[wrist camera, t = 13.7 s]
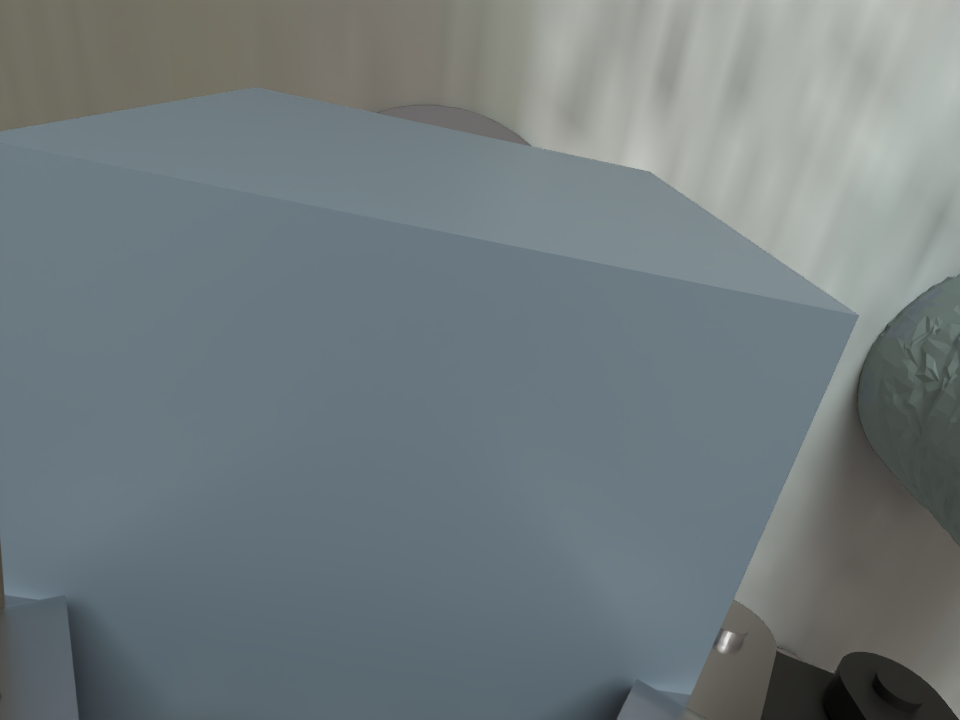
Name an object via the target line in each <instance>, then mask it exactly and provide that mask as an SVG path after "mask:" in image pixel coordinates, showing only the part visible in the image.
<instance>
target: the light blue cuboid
mask: <svg viewBox="0 0 960 720" xmlns="http://www.w3.org/2000/svg"><path fill="white" fill-rule="evenodd" d="M858 316H859V315H858V314H856V313H855V312H853V311H852V310H850V309H849V308H847V307H846V306H845V305H843V304H842V303H840V302H839V301H837V300H836V299H834V298H833V297H831V296H830V295H829V294H827V293H826V292H824V291H823V290H821V289H820V288H818V287H817V286H815V285H814V284H813V283H811V282H810V281H808V280H807V279H805V278H804V277H802V276H801V275H799V274H798V273H797V272H795V271H794V270H792V269H791V268H789V267H788V266H786V265H785V264H783V263H782V262H781V261H779V260H778V259H776V258H775V257H773V256H772V255H770V254H769V253H767V252H766V251H764V250H763V249H762V248H760V247H759V246H757V245H756V244H754V243H753V242H751V241H750V240H748V239H747V238H746V237H744V236H743V235H741V234H740V233H738V232H737V231H735V230H734V229H732V228H731V227H730V226H728V225H727V224H725V223H724V222H722V221H721V220H719V219H718V218H716V217H715V216H714V215H712V214H711V213H709V212H708V211H706V210H705V209H703V208H702V207H700V206H699V205H698V204H696V203H695V202H693V201H692V200H690V199H689V198H687V197H686V196H684V195H683V194H682V193H680V192H679V191H677V190H676V189H674V188H673V187H671V186H670V185H668V184H667V183H665V182H664V181H663V180H661V179H660V178H658V177H657V176H655V175H654V174H652V173H651V172H649V171H644V170H639V169H635V168H630V167H625V166H621V165H616V164H611V163H607V162H602V161H597V160H593V159H588V158H583V157H579V156H574V155H569V154H565V153H560V152H555V151H551V150H546V149H541V148H537V147H532V146H527V145H523V144H518V143H513V142H509V141H504V140H499V139H495V138H490V137H485V136H481V135H476V134H471V133H467V132H462V131H457V130H453V129H448V128H443V127H439V126H434V125H430V124H425V123H420V122H416V121H411V120H406V119H402V118H397V117H392V116H388V115H383V114H378V113H374V112H369V111H364V110H360V109H355V108H350V107H346V106H341V105H336V104H332V103H327V102H322V101H318V100H313V99H308V98H304V97H299V96H294V95H290V94H285V93H280V92H276V91H271V90H266V89H262V88H257V87H253V88H248V89H242V90H236V91H230V92H225V93H219V94H213V95H208V96H202V97H196V98H190V99H185V100H179V101H173V102H167V103H162V104H156V105H150V106H144V107H139V108H133V109H127V110H122V111H116V112H110V113H104V114H99V115H93V116H87V117H81V118H76V119H70V120H64V121H58V122H53V123H47V124H41V125H36V126H30V127H24V128H18V129H13V130H7V131H1V132H0V541H1V555H2V568H3V582H4V595H9V596H16V597H23V598H30V599H37V600H40V599H46V598H51V597H56V596H61V595H65V597H66V603H67V612H68V622H69V631H70V640H71V650H72V659H73V669H74V678H75V687H76V697H77V706H78V715H79V720H617V718H618V716H619V714H620V711H621V709H622V707H623V705H624V703H625V701H626V699H627V697H628V695H629V693H630V691H631V689H632V687H633V685H634V683H635V681H636V679H639V680H640V681H642V682H644V683H646V684H647V685H649V686H651V687H653V688H654V689H656V690H660V691H667V692H674V693H681V694H688V695H691V693H692V691H693V689H694V687H695V684H696V682H697V680H698V678H699V675H700V673H701V671H702V669H703V666H704V664H705V662H706V659H707V657H708V655H709V653H710V650H711V648H712V646H713V644H714V641H715V639H716V637H717V635H718V632H719V630H720V628H721V626H722V623H723V621H724V619H725V617H726V614H727V612H728V610H729V608H730V605H731V603H732V601H733V599H734V596H735V594H736V592H737V590H738V587H739V585H740V583H741V580H742V578H743V576H744V574H745V571H746V569H747V567H748V565H749V562H750V560H751V558H752V556H753V553H754V551H755V549H756V547H757V544H758V542H759V540H760V538H761V535H762V533H763V531H764V529H765V526H766V524H767V522H768V520H769V517H770V515H771V513H772V511H773V508H774V506H775V504H776V501H777V499H778V497H779V495H780V492H781V490H782V488H783V486H784V483H785V481H786V479H787V477H788V474H789V472H790V470H791V468H792V465H793V463H794V461H795V459H796V456H797V454H798V452H799V450H800V447H801V445H802V443H803V441H804V438H805V436H806V434H807V432H808V429H809V427H810V425H811V423H812V420H813V418H814V416H815V413H816V411H817V409H818V407H819V404H820V402H821V400H822V398H823V395H824V393H825V391H826V389H827V386H828V384H829V382H830V380H831V377H832V375H833V373H834V371H835V368H836V366H837V364H838V362H839V359H840V357H841V355H842V353H843V350H844V348H845V346H846V344H847V341H848V339H849V337H850V334H851V332H852V330H853V328H854V325H855V323H856V321H857V319H858Z"/></svg>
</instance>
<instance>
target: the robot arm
mask: <svg viewBox="0 0 960 720" xmlns="http://www.w3.org/2000/svg"><path fill="white" fill-rule="evenodd" d="M0 720H79V715H78V706H77V697H76V687H75V678H74V669H73V659H72V650H71V640H70V631H69V622H68V612H67V603H66V597H65V595H61V596H56V597H51V598H46V599H40V600H37V599H30V598H23V597H16V596H9V595H4V582H3V568H2V555H1V541H0ZM617 720H959V719H958V718H957V717H956V715H955V714H954V713H953V711H952V710H951V709H950V708H949V706H948V705H947V704H946V702H945V701H944V700H943V699H942V697H941V696H940V695H939V694H938V693H937V692H936V691H935V690H934V689H933V688H932V687H931V686H930V685H929V684H928V683H927V682H926V681H924V680H923V679H922V678H921V677H920V676H918V675H917V674H915V673H914V672H912V671H911V670H909V669H908V668H906V667H904V666H903V665H901V664H899V663H897V662H895V661H893V660H891V659H888V658H886V657H883V656H880V655H877V654H873V653H867V652H854V653H850V654H847V655H846V656H844V657H843V658H842V660H841V662H840V664H839V665H838V667H837V669H836V671H835V673H834V674H832V673H830V672H827V671H825V670H822V669H820V668H817V667H815V666H812V665H810V664H807V663H804V662H802V661H799V660H797V659H794V658H792V657H789V656H787V655H785V654H783V653H780V652H779V651H777V650H776V643H775V640H774V637H773V635H772V633H771V631H770V630H769V628H768V627H767V626H766V624H765V623H764V622H763V621H762V620H761V619H760V618H759V617H758V616H757V615H756V614H755V613H753V612H752V611H751V610H750V609H748V608H747V607H745V606H744V605H742V604H740V603H739V602H737V601H735V600H733V601H732V603H731V605H730V608H729V610H728V612H727V614H726V617H725V619H724V621H723V623H722V626H721V628H720V630H719V632H718V635H717V637H716V639H715V641H714V644H713V646H712V648H711V650H710V653H709V655H708V657H707V659H706V662H705V664H704V666H703V669H702V671H701V673H700V675H699V678H698V680H697V682H696V684H695V687H694V689H693V691H692V693H691V695H688V694H681V693H674V692H667V691H660V690H656V689H654V688H653V687H651V686H649V685H647V684H646V683H644V682H642V681H640V680H639V679H636V681H635V683H634V685H633V687H632V689H631V691H630V693H629V695H628V697H627V699H626V701H625V703H624V705H623V707H622V709H621V711H620V714H619V716H618V718H617Z"/></svg>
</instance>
